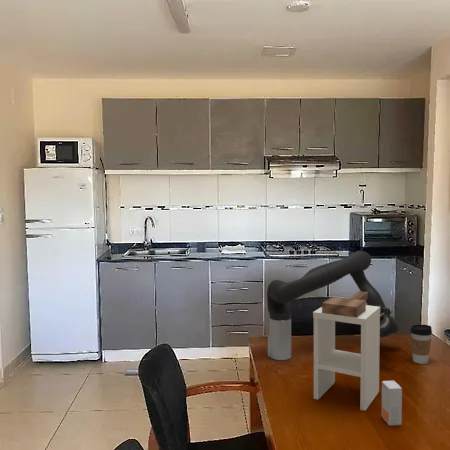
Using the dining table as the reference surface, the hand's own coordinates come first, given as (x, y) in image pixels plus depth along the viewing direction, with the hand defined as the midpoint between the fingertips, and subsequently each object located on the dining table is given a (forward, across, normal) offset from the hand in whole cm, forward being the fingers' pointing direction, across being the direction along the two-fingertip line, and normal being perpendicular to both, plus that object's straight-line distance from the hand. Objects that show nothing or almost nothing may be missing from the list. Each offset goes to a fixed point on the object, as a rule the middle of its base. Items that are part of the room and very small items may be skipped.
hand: (368, 306), depth 193 cm
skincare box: (+19, +18, +41) cm, 49 cm away
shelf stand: (+9, 0, +36) cm, 37 cm away
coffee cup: (-32, +16, +13) cm, 38 cm away
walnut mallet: (+20, 0, +6) cm, 21 cm away
